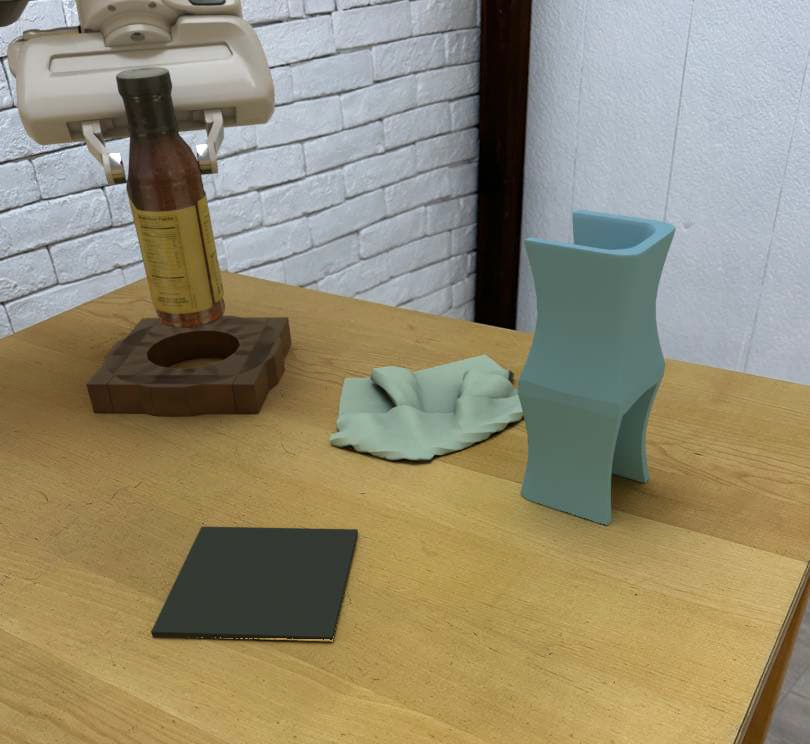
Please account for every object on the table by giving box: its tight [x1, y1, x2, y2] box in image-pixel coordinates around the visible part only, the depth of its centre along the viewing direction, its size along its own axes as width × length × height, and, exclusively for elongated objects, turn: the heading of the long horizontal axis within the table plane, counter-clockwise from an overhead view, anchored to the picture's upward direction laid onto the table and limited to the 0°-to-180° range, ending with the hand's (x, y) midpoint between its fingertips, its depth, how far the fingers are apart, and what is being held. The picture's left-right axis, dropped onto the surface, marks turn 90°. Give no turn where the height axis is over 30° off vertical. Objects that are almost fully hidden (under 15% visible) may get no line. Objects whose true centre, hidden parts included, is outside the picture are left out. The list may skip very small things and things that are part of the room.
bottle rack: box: [85, 315, 292, 417], centre depth 91 cm, size 17×17×3 cm
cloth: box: [329, 354, 524, 462], centre depth 83 cm, size 20×22×2 cm
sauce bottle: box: [116, 67, 226, 328], centre depth 75 cm, size 6×6×20 cm
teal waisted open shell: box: [517, 208, 677, 526], centre depth 66 cm, size 8×8×20 cm
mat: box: [150, 526, 359, 640], centre depth 63 cm, size 12×12×1 cm
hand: (163, 175), depth 73 cm, fingers closed on sauce bottle, 6 cm apart
